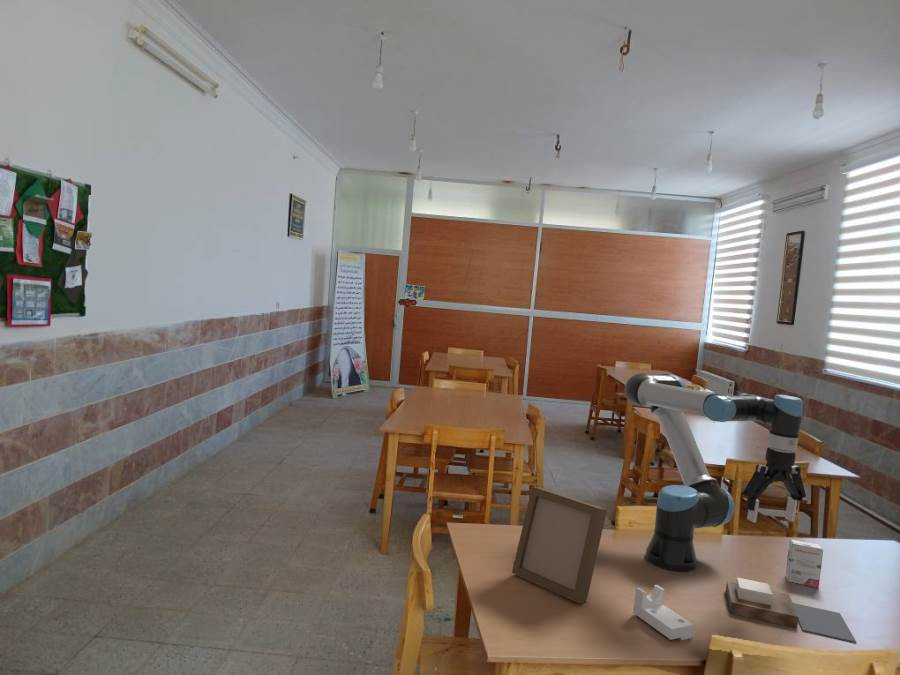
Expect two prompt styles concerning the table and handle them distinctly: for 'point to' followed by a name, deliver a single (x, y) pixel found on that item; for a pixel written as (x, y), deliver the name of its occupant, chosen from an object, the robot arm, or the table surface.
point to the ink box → (804, 563)
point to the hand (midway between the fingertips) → (770, 520)
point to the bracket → (661, 614)
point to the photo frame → (559, 543)
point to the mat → (823, 623)
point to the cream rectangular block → (753, 591)
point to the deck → (764, 607)
